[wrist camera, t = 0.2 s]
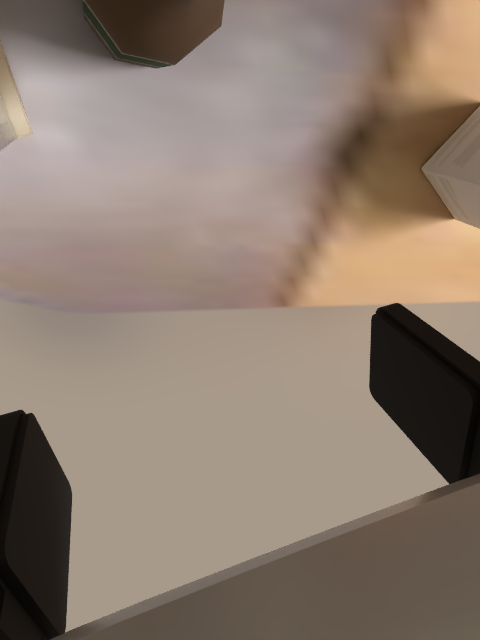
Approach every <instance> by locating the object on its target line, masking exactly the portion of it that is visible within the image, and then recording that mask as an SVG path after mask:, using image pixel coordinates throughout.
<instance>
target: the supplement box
mask: <svg viewBox="0 0 480 640" xmlns="http://www.w3.org/2000/svg"><path fill="white" fill-rule="evenodd" d="M421 170H422V171H423V173H424V174H425V176H426V177H427V179H428V180H429V182H430V183H431V185H432V186H433V188H434V189H435V191H436V192H437V193H438V195H439V196H440V198H441V199H442V201H443V202H444V204H445V205H446V207H447V208H448V210H449V211H450V213H451V214H452V216H453V217H454V218H455V219H456V220H458V221H461V222H464V223H466V224H469V225H472V226H474V227H477V228H480V106H479V107H478V108H477V109H476V110H475V111H474V112H473V113H472V114H471V115H470V117H469V118H468V119H467V120H466V121H465V122H464V123H463V124H462V125H461V126H460V127H459V128H458V129H457V130H456V131H455V132H454V133H453V135H452V136H451V137H450V138H449V139H448V140H447V141H446V142H445V143H444V144H443V145H442V146H441V147H440V148H439V149H438V151H437V152H436V153H435V154H434V155H433V156H432V157H431V158H430V159H429V160H428V161H427V162H426V163H425V164H424V165H423V167H422V168H421Z"/></svg>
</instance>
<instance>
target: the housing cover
mask: <svg viewBox="0 0 480 640" xmlns="http://www.w3.org/2000/svg"><path fill="white" fill-rule="evenodd" d="M16 138H17V135H16V133H15V130H14V127H13V125H12V122H11V121H10V120H9V118H8V115H7V112H6V110H5V107H4V104H3V102H2V99H1V96H0V151H1V150H2V149H4V148H5V147H6V146H7V145H9V144H10V143H11V142H13V141H14V140H15V139H16Z"/></svg>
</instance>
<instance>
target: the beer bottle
mask: <svg viewBox="0 0 480 640" xmlns="http://www.w3.org/2000/svg"><path fill="white" fill-rule="evenodd" d="M83 7H84V15H85V19H86V21H87V22H88V23H89V25H90V26H91V27H92V29H93V30H94V32H95V33H96V34H97V36H98V37H99V38H100V40H101V41H102V43H103V44H104V45H105V47H106V48H107V49H108V51H109V52H110V54H111V55H112V56H113V58H114V59H115V60H119V61H124V62H129V63H133V64H138V65H143V66H147V67H152V68H161V67H166V66H171V65H175V64H177V63H178V62H179V61H180V60H181V59H183V58H184V57H185V56H186V55H187V54H189V53H190V52H191V51H192V50H193V49H194V48H196V47H197V46H198V45H199V44H200V43H202V42H203V41H204V40H205V39H206V38H208V37H209V36H210V35H211V34H212V33H213V32H215V31H216V30H217V29H218V28H219V27H221V23H222V15H223V7H224V0H83Z"/></svg>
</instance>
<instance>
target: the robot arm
mask: <svg viewBox="0 0 480 640" xmlns="http://www.w3.org/2000/svg"><path fill="white" fill-rule="evenodd" d="M369 387H370V392H371V394H372V396H373V398H374V399H375V400H376V402H377V403H378V404H379V405H380V406H381V407H382V408H383V410H384V411H385V412H386V413H387V414H388V415H389V416H390V417H391V419H392V420H393V421H394V422H395V423H396V424H397V425H398V427H399V428H400V429H401V430H402V431H403V432H404V433H405V434H406V436H407V437H408V438H409V439H410V440H411V441H412V442H413V443H414V444H415V446H416V447H417V448H418V449H419V450H420V451H421V453H422V454H423V455H424V456H425V457H426V458H427V459H428V460H429V461H430V463H431V464H432V465H433V466H434V467H435V468H436V469H437V471H438V472H439V473H440V474H441V475H442V476H443V477H444V479H446V481H447V482H448V483H449V485H446V486H444V487H441V488H438V489H436V490H433V491H430V492H428V493H425V494H422V495H420V496H417V497H415V498H412V499H409V500H407V501H404V502H401V503H398V504H396V505H393V506H390V507H387V508H385V509H382V510H379V511H377V512H374V513H371V514H369V515H366V516H363V517H361V518H358V519H356V520H353V521H350V522H348V523H345V524H342V525H340V526H337V527H334V528H332V529H329V530H326V531H324V532H321V533H319V534H316V535H313V536H311V537H308V538H306V539H303V540H300V541H298V542H295V543H292V544H290V545H287V546H284V547H282V548H279V549H277V550H274V551H271V552H269V553H266V554H263V555H261V556H258V557H256V558H253V559H250V560H248V561H245V562H242V563H240V564H237V565H235V566H232V567H230V568H227V569H224V570H222V571H219V572H217V573H214V574H212V575H209V576H206V577H204V578H201V579H198V580H196V581H194V582H191V583H188V584H186V585H183V586H181V587H178V588H175V589H173V590H170V591H167V592H165V593H162V594H160V595H157V596H155V597H152V598H150V599H147V600H144V601H142V602H139V603H137V604H134V605H132V606H129V607H127V608H125V609H122V610H120V611H117V612H115V613H112V614H110V615H107V616H105V617H102V618H100V619H97V620H95V621H92V622H90V623H87V624H85V625H82V626H80V627H77V628H75V629H73V630H70V631H68V632H66V633H65V629H66V613H67V592H68V572H69V550H70V530H71V508H72V491H71V487H70V484H69V481H68V480H67V478H66V476H65V474H64V472H63V470H62V468H61V466H60V464H59V462H58V460H57V458H56V456H55V454H54V452H53V451H52V449H51V447H50V445H49V443H48V441H47V439H46V437H45V435H44V433H43V431H42V430H41V427H40V425H39V424H38V422H37V420H36V418H35V416H34V414H32V413H29V414H26V413H25V412H24V411H23V410H18V411H14V412H11V413H7V414H4V415H0V640H480V362H479V361H478V360H477V359H475V358H474V357H473V356H471V355H470V354H468V353H467V352H466V351H464V350H463V349H461V348H460V347H459V346H457V345H456V344H455V343H453V342H452V341H450V340H449V339H448V338H446V337H445V336H444V335H442V334H441V333H440V332H438V331H437V330H435V329H434V328H433V327H431V326H430V325H428V324H427V323H426V322H424V321H423V320H421V319H420V318H419V317H417V316H416V315H415V314H413V313H412V312H411V311H409V310H408V309H406V308H405V307H404V306H402V305H401V304H399V303H394V304H391V305H387V306H384V307H380V308H378V309H377V311H376V314H374V315H373V316H372V320H371V350H370V383H369Z"/></svg>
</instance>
